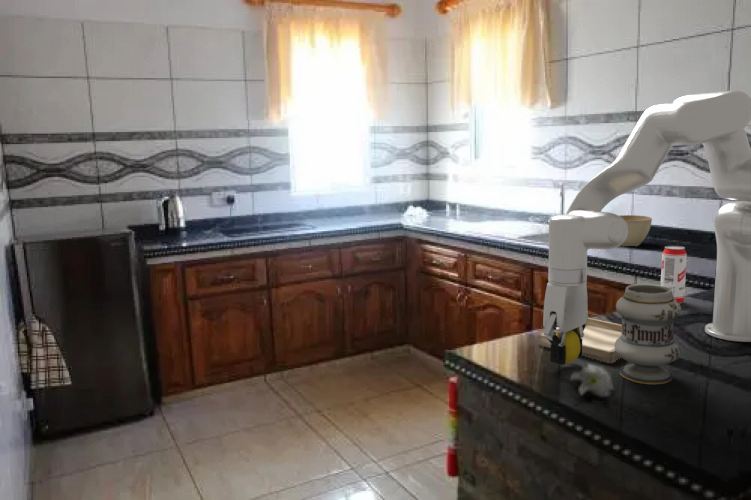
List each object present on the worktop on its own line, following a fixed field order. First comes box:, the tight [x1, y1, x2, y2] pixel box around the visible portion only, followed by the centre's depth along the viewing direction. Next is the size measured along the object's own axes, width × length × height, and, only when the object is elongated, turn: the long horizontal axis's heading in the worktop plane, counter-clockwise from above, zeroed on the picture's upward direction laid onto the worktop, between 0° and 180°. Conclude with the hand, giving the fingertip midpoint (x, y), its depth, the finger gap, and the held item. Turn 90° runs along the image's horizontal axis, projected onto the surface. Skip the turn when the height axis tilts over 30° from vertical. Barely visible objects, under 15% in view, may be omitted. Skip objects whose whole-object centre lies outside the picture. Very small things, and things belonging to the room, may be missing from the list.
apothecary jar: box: [614, 283, 682, 385], centre depth 123 cm, size 12×12×18 cm
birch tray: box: [537, 317, 622, 364], centre depth 144 cm, size 20×18×2 cm
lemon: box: [556, 330, 581, 365], centre depth 130 cm, size 6×6×8 cm
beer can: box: [660, 245, 688, 305], centre depth 176 cm, size 6×6×16 cm
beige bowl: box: [618, 214, 653, 247], centre depth 268 cm, size 18×18×12 cm
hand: (566, 358), depth 130 cm, fingers closed on lemon, 5 cm apart
